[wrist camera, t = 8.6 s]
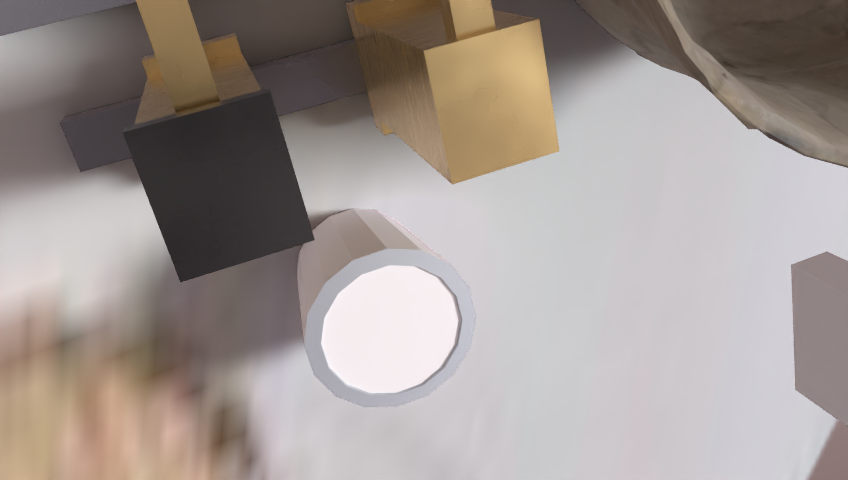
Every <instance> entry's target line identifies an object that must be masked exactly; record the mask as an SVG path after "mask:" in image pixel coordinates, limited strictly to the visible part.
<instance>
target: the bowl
mask: <svg viewBox="0 0 848 480" xmlns="http://www.w3.org/2000/svg"><path fill="white" fill-rule="evenodd" d="M575 1H576V2H577V4H578V5H579V6H580V7H581V8H582V9H583V10H584V11H585V12H587V13H588V14H589V15H590V16H591V17H592V18H593V19H594V20H595V21H596V22H597V23H599V24H600V25H601V26H602V27H603V28H604V29H605V30H606V31H607V32H608V33H609V34H611V35H612V36H613V37H614V38H616V39H617V40H619V41H620V42H622V43H623V44H625V45H626V46H628V47H629V48H631V49H633V50H635V51H636V53H637V54H638V55H640V56H642V57H644V58H646V59H648V60H650V61H652V62H654V63H656V64H658V65H660V66H662V67H665V68H667V69H670V70H673V71H676V72H679V73H682V74H685V75H688V76H690V77H692V78H694V79H696V80H698V81H699V82H700V83H701V84H703V85H704V86H705V87H706V88H707V89H708V90H709V91H710V92H711V93H712V94H713V95H714V96H715V97H716V98H717V99H718V100H719V101H720V102H721V103H722V104H723V105H724V106H725V107H726V108H727V109H729V110H730V111H731V112H732V113H733V114H734V115H735V116H736V117H737V118H738V119H739V120H740V121H741V122H742V123H743V124H744V125H745V126H746V127H747V128H748V129H758V130H759V131H761V132H762V133H763V134H765V135H766V136H767V137H768V138H770V139H772V140H774V141H776V142H778V143H780V144H782V145H784V146H786V147H788V148H790V149H792V150H794V151H796V152H798V153H800V154H802V155H804V156H807V157H811V158H814V159H818V160H821V161H825V162H829V163H832V164H836V165H840V166H843V167H847V168H848V0H575Z"/></svg>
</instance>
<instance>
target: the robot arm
mask: <svg viewBox="0 0 848 480" xmlns="http://www.w3.org/2000/svg"><path fill="white" fill-rule="evenodd" d="M791 273H792V303H793V332H794V362H795V390H797V391H798V392H800V393H801V394H802V395H804V396H805V397H807V398H808V399H809V400H811V401H812V402H814V403H815V404H816V405H818V406H819V407H821V408H822V409H823V410H825V411H826V412H828V413H829V414H831V415H832V416H833V417H835V418H836V419H838V420H839V421H840V422H842V423H843V424H845V425H846V426H848V261H846V260H844V259H842V258H840V257H838V256H835V255H833V254H831V253H829V252H824V253H822V254H819V255H816V256H814V257H811V258H808V259H806V260H803V261H800V262H798V263H795V264H792V265H791Z"/></svg>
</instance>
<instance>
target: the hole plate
mask: <svg viewBox="0 0 848 480" xmlns="http://www.w3.org/2000/svg"><path fill="white" fill-rule="evenodd" d="M135 2H136V0H0V36H2V35H6V34H10V33H14V32H18V31H22V30H26V29H30V28H34V27H38V26H42V25H46V24H50V23H54V22H58V21H62V20H66V19H70V18H74V17H78V16H82V15H86V14H90V13H94V12H99V11H103V10H107V9H111V8H115V7H119V6H123V5H127V4H131V3H135Z"/></svg>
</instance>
